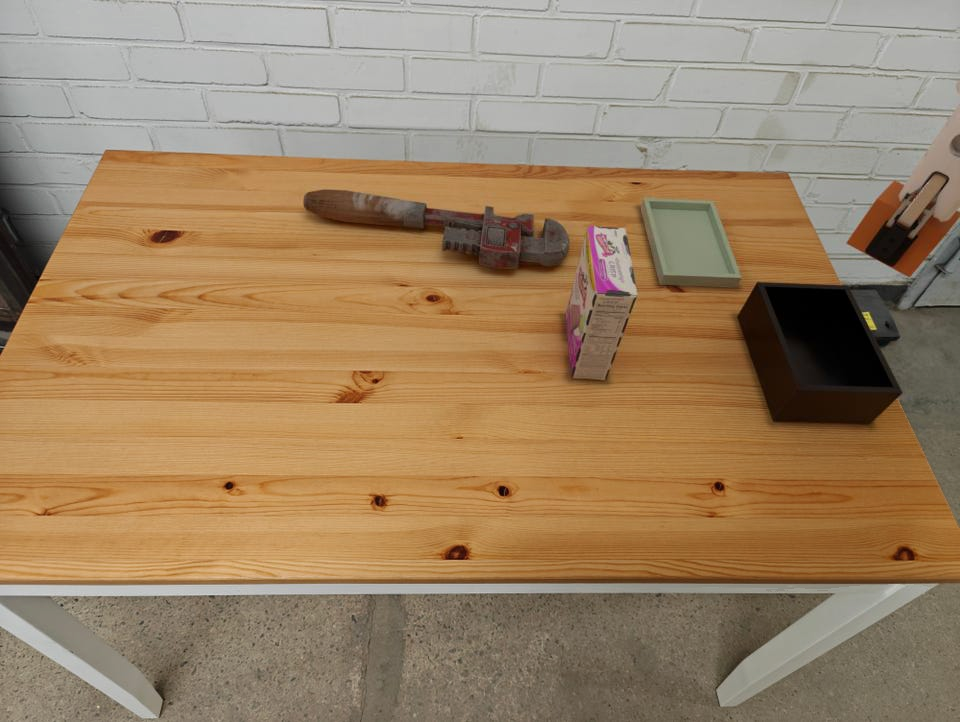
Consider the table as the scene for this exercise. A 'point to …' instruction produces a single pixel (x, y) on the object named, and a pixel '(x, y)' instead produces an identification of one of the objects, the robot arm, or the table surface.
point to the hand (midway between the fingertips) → (890, 245)
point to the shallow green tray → (689, 243)
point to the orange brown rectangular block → (884, 211)
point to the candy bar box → (600, 302)
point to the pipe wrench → (494, 241)
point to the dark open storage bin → (815, 354)
